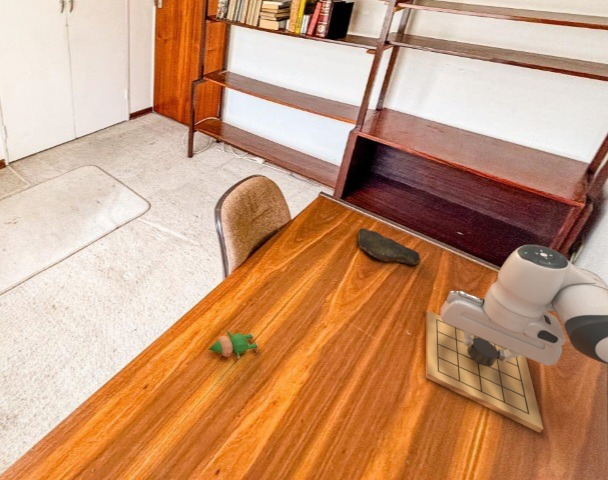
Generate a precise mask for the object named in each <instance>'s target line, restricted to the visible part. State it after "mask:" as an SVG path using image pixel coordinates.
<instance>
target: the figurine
mask: <svg viewBox="0 0 608 480" xmlns="http://www.w3.org/2000/svg"><path fill="white" fill-rule="evenodd" d="M225 332H226V334H227V335H228V336H227V335H221V336H218V338H217V340H216V342H214V343H213V344H212V345H211V346H209V348H208V350H209V351H212V352H213V353H217V354H219V355H222V356H223V357H227V358H229V357H231V355H233V352H234V353H235V354H236V358H237V360H239V359H240V355H242V354H245V352H246V351H247V350H252V349H254V351H255V353H257V352H258V349H259V344H258V342H255V343H253V340H254V334H253V332H250V333H249V334H248V333H247V334H243V333H233V334H232V333H231V332H230V331H229V330H228V329H227V330H226V331H225ZM248 339H249V340H250V343H251V344H249V341H248Z"/></svg>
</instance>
